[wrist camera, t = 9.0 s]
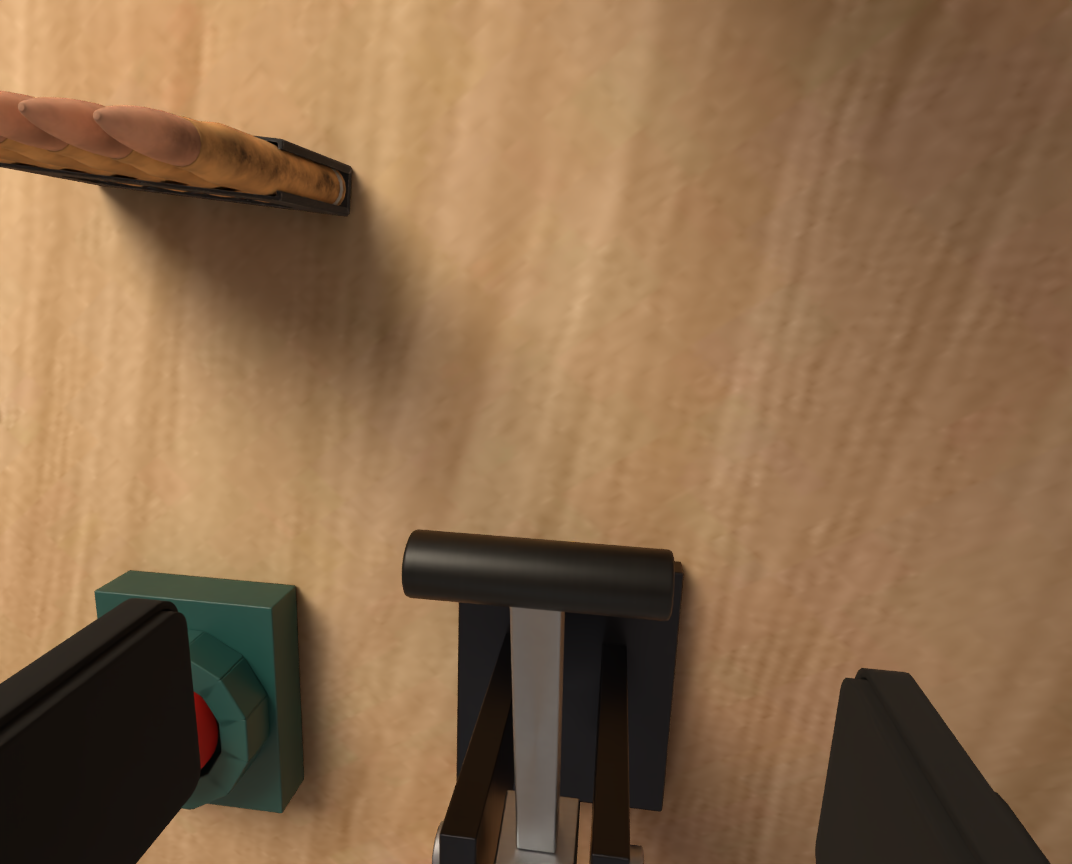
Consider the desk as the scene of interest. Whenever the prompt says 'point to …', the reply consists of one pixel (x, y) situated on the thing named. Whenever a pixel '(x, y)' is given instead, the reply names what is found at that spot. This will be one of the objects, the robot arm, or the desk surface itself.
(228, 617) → the button block
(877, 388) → the desk surface
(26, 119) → the ammunition clip
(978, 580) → the desk surface
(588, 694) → the stand
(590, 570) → the lever
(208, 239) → the desk surface
